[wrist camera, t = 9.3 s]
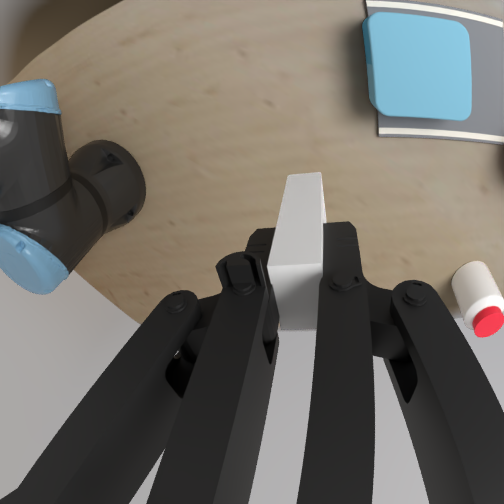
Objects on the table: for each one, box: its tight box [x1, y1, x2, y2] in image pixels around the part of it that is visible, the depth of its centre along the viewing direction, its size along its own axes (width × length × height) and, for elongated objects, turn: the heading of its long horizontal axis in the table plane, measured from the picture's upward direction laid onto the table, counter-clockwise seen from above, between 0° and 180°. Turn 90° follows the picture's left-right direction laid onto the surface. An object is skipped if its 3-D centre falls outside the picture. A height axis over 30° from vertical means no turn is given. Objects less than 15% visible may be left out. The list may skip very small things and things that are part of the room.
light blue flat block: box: [362, 12, 472, 121], centre depth 26 cm, size 12×4×12 cm
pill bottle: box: [451, 261, 504, 337], centre depth 40 cm, size 8×8×11 cm
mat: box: [365, 0, 504, 145], centre depth 28 cm, size 19×18×1 cm
